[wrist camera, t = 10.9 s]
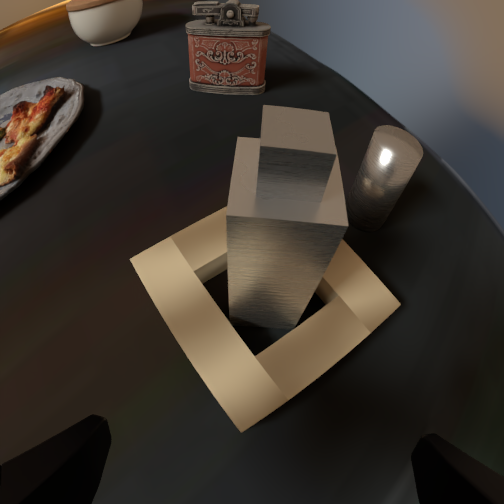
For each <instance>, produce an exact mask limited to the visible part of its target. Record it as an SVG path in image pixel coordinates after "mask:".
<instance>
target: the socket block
mask: <svg viewBox="0 0 504 504" xmlns="http://www.w3.org/2000/svg"><path fill="white" fill-rule="evenodd" d="M226 213H227V207H225V208H223V209H221V210H219V211H217V212H215V213H213V214H211V215H209V216H208V217H206V218H204V219H202V220H200V221H198V222H196V223H194V224H193V225H191V226H189V227H187V228H185V229H183V230H181V231H179V232H178V233H176V234H174V235H172V236H170V237H168V238H167V239H165V240H163V241H161V242H159V243H158V244H156V245H154V246H152V247H150V248H149V249H147V250H145V251H143V252H141V253H140V254H138V255H136V256H134V257H133V258H131V259H130V261H131V262H132V264H133V266H134V268H135V270H136V272H137V273H138V275H139V277H140V279H141V281H142V282H143V284H144V286H145V288H146V290H147V291H148V293H149V295H150V297H151V298H152V300H153V302H154V303H155V305H156V307H157V309H158V310H159V312H160V314H161V315H162V317H163V319H164V320H165V322H166V324H167V325H168V327H169V328H170V330H171V332H172V333H173V335H174V336H175V338H176V340H177V341H178V343H179V344H180V346H181V348H182V349H183V351H184V352H185V354H186V355H187V357H188V358H189V360H190V361H191V363H192V364H193V366H194V367H195V369H196V370H197V372H198V373H199V375H200V376H201V378H202V379H203V381H204V382H205V384H206V385H207V387H208V388H209V389H210V391H211V392H212V394H213V395H214V397H215V398H216V399H217V401H218V402H219V404H220V405H221V406H222V408H223V409H224V410H225V412H226V413H227V414H228V416H229V417H230V419H231V420H232V421H233V423H234V424H235V425H236V427H237V428H238V429H239V430H240V432H241V433H242V432H243V431H245V430H246V429H248V428H249V427H251V426H252V425H254V424H255V423H257V422H258V421H260V420H261V419H263V418H264V417H266V416H267V415H268V414H270V413H271V412H273V411H274V410H276V409H277V408H278V407H280V406H281V405H282V404H284V403H285V402H287V401H288V400H289V399H291V398H292V397H293V396H295V395H296V394H297V393H299V392H300V391H301V390H303V389H304V388H305V387H307V386H308V385H309V384H310V383H312V382H313V381H314V380H316V379H317V378H318V377H319V376H321V375H322V374H323V373H324V372H326V371H327V370H328V369H329V368H331V367H332V366H333V365H334V364H335V363H337V362H338V361H339V360H340V359H341V358H343V357H344V356H345V355H346V354H347V353H349V352H350V351H351V350H352V349H353V348H354V347H355V346H357V345H358V344H359V343H360V342H361V341H362V340H363V339H365V338H366V337H367V336H368V335H369V334H370V333H371V332H372V331H373V330H374V329H376V328H377V327H378V326H379V325H380V324H381V323H382V322H383V321H384V320H385V319H386V318H387V317H388V316H389V315H391V314H392V313H393V312H394V311H395V310H396V309H397V308H398V307H399V306H400V305H401V304H400V303H399V301H398V300H397V299H396V298H395V297H394V296H393V295H392V293H391V292H390V291H389V290H388V289H387V288H386V286H385V285H384V284H383V283H382V282H381V281H380V280H379V279H378V277H377V276H376V275H375V274H374V273H373V272H372V271H371V270H370V269H369V267H368V266H367V265H366V264H365V263H364V262H363V261H362V260H361V259H360V258H359V256H358V255H357V254H356V253H355V252H354V251H353V250H352V249H351V248H350V247H349V246H348V245H347V244H346V242H345V241H344V240H343V239H342V240H341V242H340V244H339V246H338V248H337V250H336V252H335V254H334V256H333V258H332V260H331V262H330V263H329V265H328V267H327V269H326V271H325V273H324V275H323V277H322V279H321V281H320V282H319V284H318V286H317V288H316V290H315V293H316V294H317V295H318V296H319V297H320V298H321V300H322V301H323V302H324V303H325V304H326V306H325V307H323V308H322V309H321V310H319V311H318V312H317V313H315V314H314V315H313V316H311V317H310V318H308V319H307V320H306V321H304V322H303V323H302V324H300V325H299V326H298V327H296V328H295V329H293V330H292V331H291V332H289V333H288V334H286V335H285V336H284V337H282V338H281V339H279V340H278V341H277V342H275V343H274V344H272V345H271V346H269V347H268V348H266V349H265V350H264V351H262V352H261V353H259V354H258V355H256V356H254V355H253V354H252V352H251V351H250V350H249V348H248V347H247V346H246V344H245V343H244V342H243V340H242V339H241V338H240V336H239V335H238V333H237V332H236V331H235V329H234V328H233V327H232V325H231V324H230V322H229V321H228V320H227V318H226V317H225V315H224V314H223V313H222V311H221V310H220V308H219V307H218V306H217V304H216V303H215V301H214V300H213V299H212V297H211V296H210V294H209V293H208V291H207V290H206V289H205V287H204V286H203V283H205V282H206V281H208V280H210V279H211V278H213V277H215V276H216V275H218V274H220V273H221V272H223V271H225V270H226V269H228V263H227V228H226Z"/></svg>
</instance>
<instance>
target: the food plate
mask: <svg viewBox="0 0 504 504" xmlns="http://www.w3.org/2000/svg"><path fill="white" fill-rule="evenodd" d="M84 90H85V87H84V85H83V84H81V83H79V82H75V80H74V79H65V78H62V77H58V78H57V77H56V78H51V79H47V80H42V81H38V82H32V84H30V83H29V84H26V85H22V86H19V88H18V87H16V88H13V89H11V90H10V91H8V92H6V93H3V94H2V95H0V119H1V118H3V117H4V115H5V114H9V113H11V112H13V113H12V114H13V115H12V117H11V119H10V120H9V121H8V120H7V121H5V122H3V123H2V124H1V125H0V200H2V198H4V197H5V196H7V195H8V194H10V192H13V190H14V189H17V187H18V186H20V185H21V184H22V182H23V181H24V180H25V179H26V178H27V176H29V175H30V173H32V172H33V171H35V170H36V169H37V168H38V167H40V166H41V164H42V163H43V162H44V160H45V159H46V158H47V156H48V155H49V153H50V152H51V150H52V151H53V148H55V147H56V145H57V144H58V143H59V141H60V140H61V139H62V138H63V136H64V134H66V133H67V132H68V130H69V128H70V127H71V126H72V125H73V124H74V123H75V122H76V121H77V120H78V117H79V115H80V114H81V112H82V110H83V108H84V101H85V99H84ZM2 121H4V120H2ZM2 121H1V122H2ZM2 125H3V126H2ZM10 144H11V145H10ZM12 145H13V146H12ZM11 146H12V147H11Z"/></svg>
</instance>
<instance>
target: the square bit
mask: <svg viewBox="0 0 504 504" xmlns="http://www.w3.org/2000/svg"><path fill="white" fill-rule="evenodd" d="M226 228H227V263H228V293H229V318H230V324H231V325H236V326H249V327H262V328H277V329H294V328H295V326H296V324H297V322H298V321H299V319H300V317H301V315H302V313H303V312H304V310H305V308H306V306H307V304H308V303H309V301H310V299H311V297H312V295H313V293H314V292H315V290H316V288H317V286H318V284H319V282H320V281H321V279H322V277H323V275H324V273H325V271H326V269H327V267H328V265H329V263H330V262H331V260H332V258H333V256H334V254H335V252H336V250H337V248H338V246H339V244H340V242H341V240H342V238H343V236H344V234H345V232H346V230H347V228H348V219H347V212H346V205H345V198H344V191H343V185H342V179H341V173H340V167H339V161H338V155H337V150H336V147H335V143H334V137H333V132H332V127H331V122H330V117H329V113H327V112H320V111H313V110H306V109H298V108H289V107H280V106H269V105H263V114H262V125H261V136H260V139H258V138H245V137H238V139H237V146H236V152H235V159H234V165H233V172H232V178H231V185H230V192H229V199H228V206H227V213H226Z"/></svg>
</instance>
